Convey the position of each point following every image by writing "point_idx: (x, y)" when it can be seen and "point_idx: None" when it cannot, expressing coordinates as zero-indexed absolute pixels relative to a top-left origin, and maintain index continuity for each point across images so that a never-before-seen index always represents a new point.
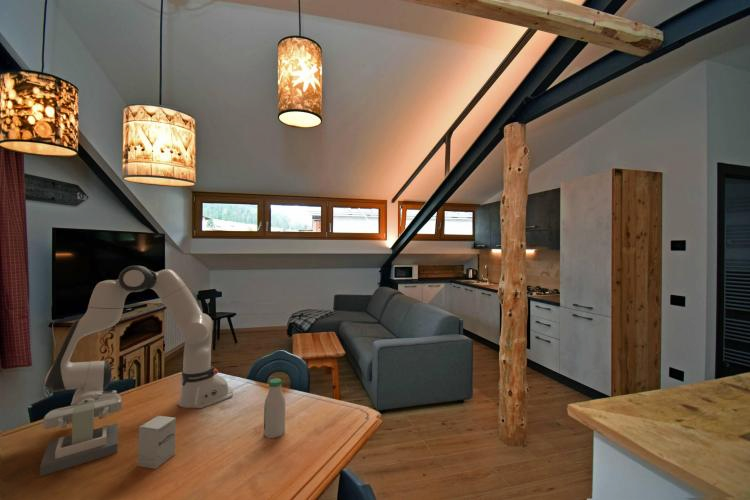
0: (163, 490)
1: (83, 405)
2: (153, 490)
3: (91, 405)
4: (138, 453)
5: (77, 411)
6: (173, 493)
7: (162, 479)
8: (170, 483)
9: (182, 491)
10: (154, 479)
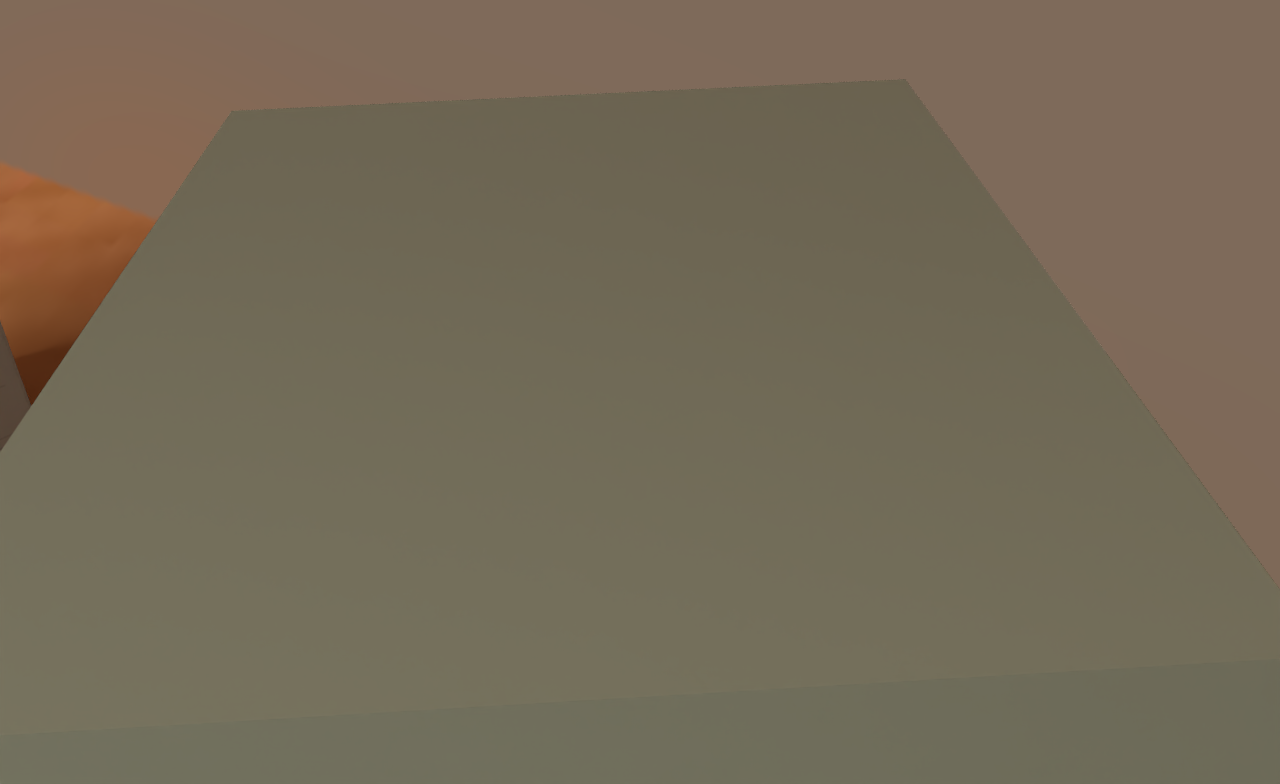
0: (76, 210)
1: (632, 557)
2: (121, 227)
3: (188, 342)
4: (3, 333)
5: (780, 137)
6: (49, 180)
7: (14, 275)
8: (4, 234)
9: (3, 175)
10: (55, 293)
